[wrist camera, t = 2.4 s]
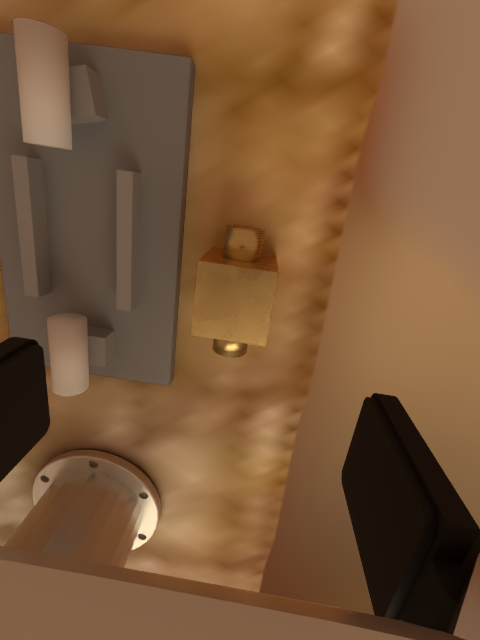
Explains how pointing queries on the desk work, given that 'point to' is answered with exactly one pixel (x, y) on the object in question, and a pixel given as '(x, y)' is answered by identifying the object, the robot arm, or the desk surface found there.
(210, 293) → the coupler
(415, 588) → the robot arm
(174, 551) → the desk surface
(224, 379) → the desk surface
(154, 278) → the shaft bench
